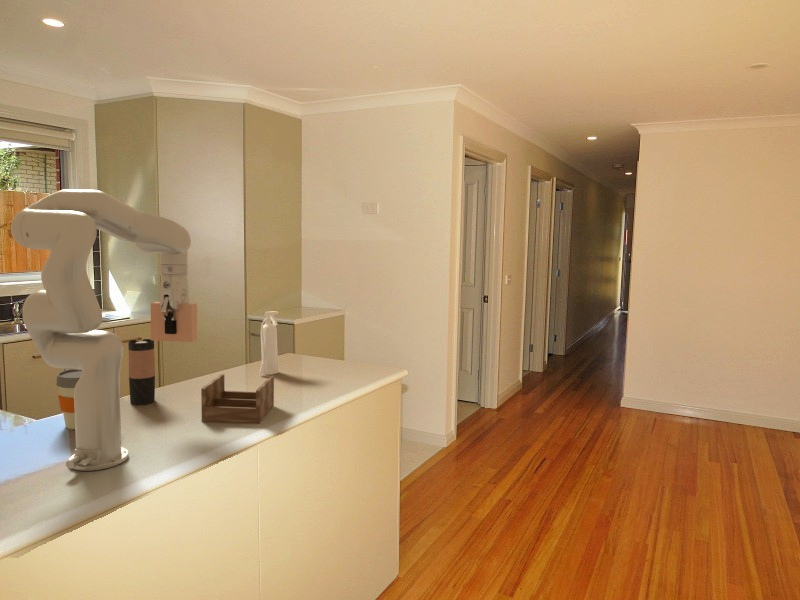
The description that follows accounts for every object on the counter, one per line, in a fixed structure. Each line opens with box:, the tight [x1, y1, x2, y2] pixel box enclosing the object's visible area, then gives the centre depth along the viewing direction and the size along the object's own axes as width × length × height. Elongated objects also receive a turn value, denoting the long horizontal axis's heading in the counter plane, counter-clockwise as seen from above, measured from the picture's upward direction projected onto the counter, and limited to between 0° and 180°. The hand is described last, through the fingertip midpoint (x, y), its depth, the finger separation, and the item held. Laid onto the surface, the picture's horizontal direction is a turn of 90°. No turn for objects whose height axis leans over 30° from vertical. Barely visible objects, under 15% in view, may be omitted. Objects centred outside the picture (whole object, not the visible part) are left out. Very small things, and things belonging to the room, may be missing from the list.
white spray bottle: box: [259, 310, 279, 376], centre depth 217 cm, size 7×12×25 cm, turn 157°
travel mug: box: [127, 338, 156, 406], centre depth 176 cm, size 8×8×20 cm
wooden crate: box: [200, 373, 275, 425], centre depth 168 cm, size 17×17×10 cm
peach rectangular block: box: [150, 301, 198, 343], centre depth 161 cm, size 4×12×11 cm, turn 89°
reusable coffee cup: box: [55, 369, 83, 430], centre depth 154 cm, size 13×13×15 cm
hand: (174, 331), depth 162 cm, fingers closed on peach rectangular block, 4 cm apart
